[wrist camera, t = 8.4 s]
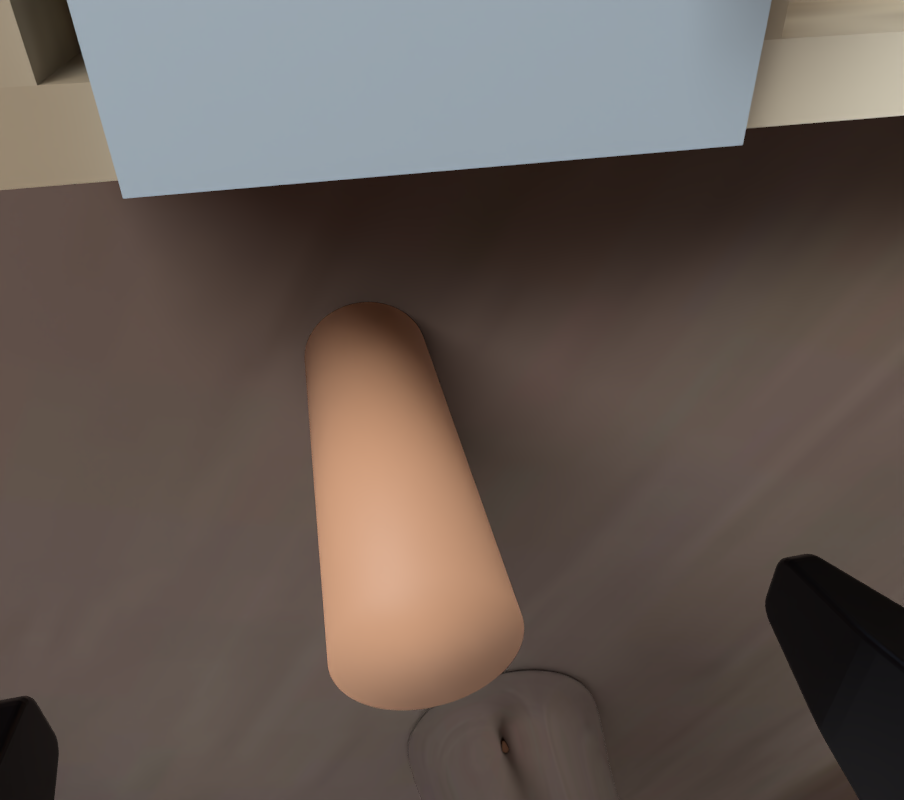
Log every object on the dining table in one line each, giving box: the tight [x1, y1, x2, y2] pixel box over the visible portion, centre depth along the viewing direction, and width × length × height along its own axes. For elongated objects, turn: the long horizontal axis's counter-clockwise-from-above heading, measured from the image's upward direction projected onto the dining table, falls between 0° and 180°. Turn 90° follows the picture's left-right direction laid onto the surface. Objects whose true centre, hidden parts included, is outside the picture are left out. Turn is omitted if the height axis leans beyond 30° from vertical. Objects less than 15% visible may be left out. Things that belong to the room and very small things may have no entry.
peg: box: [305, 302, 524, 710], centre depth 12 cm, size 2×2×7 cm
